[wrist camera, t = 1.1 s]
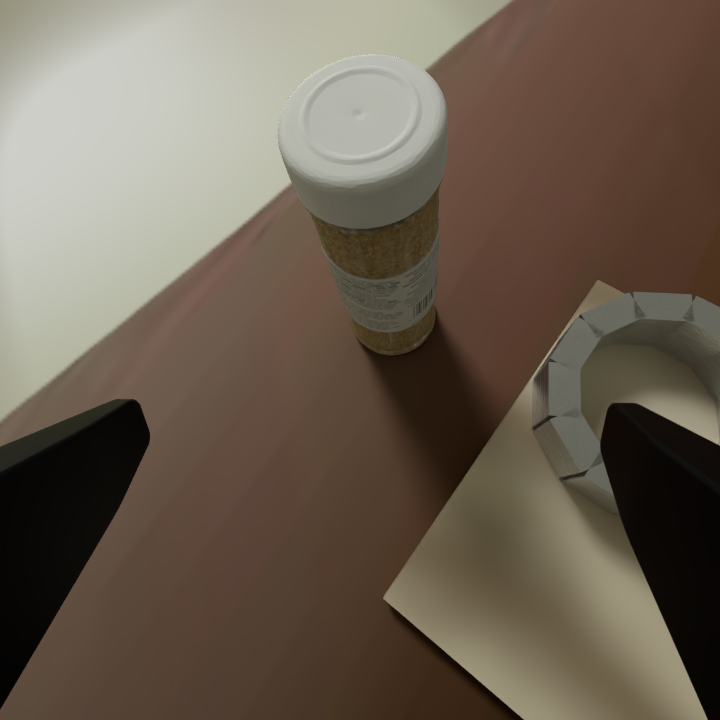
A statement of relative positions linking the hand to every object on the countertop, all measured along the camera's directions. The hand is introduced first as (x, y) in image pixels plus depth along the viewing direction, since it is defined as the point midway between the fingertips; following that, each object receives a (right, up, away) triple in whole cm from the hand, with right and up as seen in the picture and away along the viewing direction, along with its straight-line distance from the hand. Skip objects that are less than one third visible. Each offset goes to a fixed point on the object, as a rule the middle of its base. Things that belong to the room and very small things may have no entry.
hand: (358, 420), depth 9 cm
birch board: (+12, -6, +11) cm, 17 cm away
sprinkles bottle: (+2, +3, +16) cm, 16 cm away
